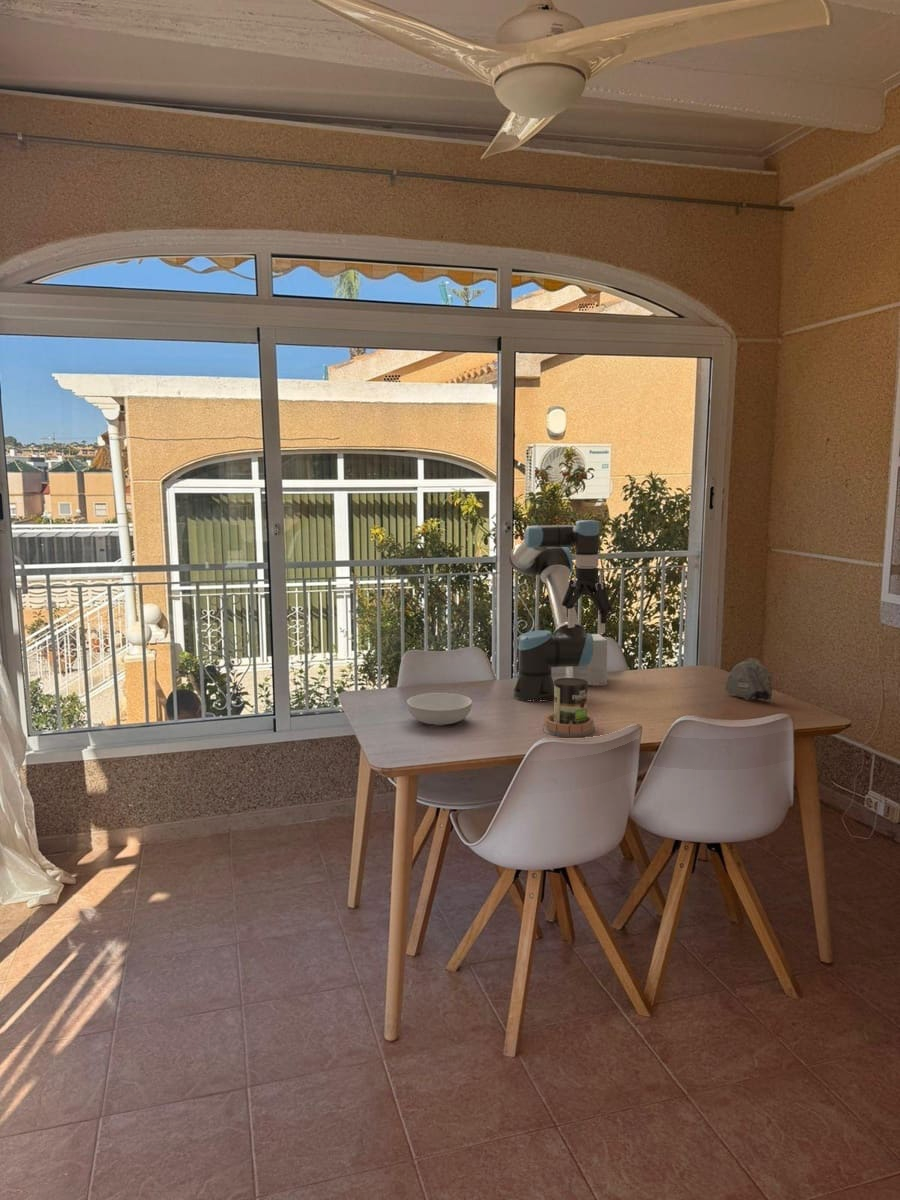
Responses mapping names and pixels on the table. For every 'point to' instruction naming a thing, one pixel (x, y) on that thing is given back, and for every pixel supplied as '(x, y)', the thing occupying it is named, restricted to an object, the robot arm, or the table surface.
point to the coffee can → (570, 701)
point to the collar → (569, 727)
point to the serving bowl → (439, 708)
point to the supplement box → (593, 664)
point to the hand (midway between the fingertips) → (586, 630)
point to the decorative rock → (749, 681)
